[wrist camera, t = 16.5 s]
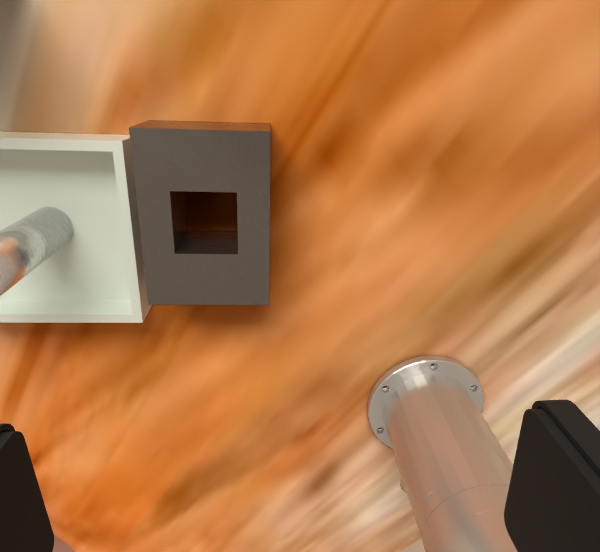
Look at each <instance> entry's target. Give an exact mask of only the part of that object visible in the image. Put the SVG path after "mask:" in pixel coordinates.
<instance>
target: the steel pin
mask: <svg viewBox="0 0 600 552" xmlns="http://www.w3.org/2000/svg"><path fill="white" fill-rule="evenodd" d="M73 232H74V229H73V224H72V222H71V220H70V218H69V217H68V216H67V215H66V214H65V213H64V212H63V211H61V210H59V209H57V208H54V207H43V208H40V209H38V210H36V211H34V212H32V213H31V214H29V215H27V216H25V217H23V218H22V219H20V220H18V221H16V222H14V223H12V224H11V225H9V226H7V227H5V228H3V229H2V230H0V296H1V295H2V294H4V293H5V292H6V291H7V290H9V289H10V288H11V287H12V286H14V285H15V284H16V283H18V282H19V281H20V280H21V279H23V278H24V277H25V276H26V275H28V274H29V273H30V272H31V271H33V270H34V269H35V268H36V267H38V266H39V265H40V264H42V263H43V262H44V261H45V260H47V259H48V258H49V257H50V256H52V255H53V254H54V253H55V252H57V251H58V250H59V249H60V248H62V247H63V246H64V245H65V244H67V243H68V242H69V241H70V240H71V238H72V236H73Z"/></svg>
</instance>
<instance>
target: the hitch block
mask: <svg viewBox="0 0 600 552" xmlns="http://www.w3.org/2000/svg"><path fill="white" fill-rule="evenodd" d="M129 133H130V142H131V151H132V161H133V170H134V179H135V189H136V198H137V207H138V217H139V226H140V235H141V245H142V254H143V263H144V273H145V282H146V291H147V301H148V305H269V288H270V142H271V124H266V123H230V122H193V121H157V120H149V121H146V122H143V123H140V124H138V125H135V126H132V127H129ZM185 191H187V192H237V224H238V231H187V219H186V203H185Z"/></svg>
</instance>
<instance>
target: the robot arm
mask: <svg viewBox="0 0 600 552" xmlns="http://www.w3.org/2000/svg"><path fill="white" fill-rule="evenodd" d="M483 402H484V398H483V391H482V388H481V385H480V383H479V381H478V380H477V378H476V377H475V375H474V374H473V373H472V372H471V371H470V370H469V368H468V367H466V366H465V365H463V364H462V363H460V362H458V361H456V360H453V359H451V358H447V357H442V356H423V357H416V358H413V359H410V360H406V361H404V362H402V363H400V364H398V365H396V366H394V367H393V368H392V369H390V370H389V371H387V372H386V373H385V374H384V375H383V376H382V377H381V378H380V379H379V380H378V381H377V383H376V384H375V386H374V387H373V389H372V391H371V393H370V395H369V399H368V404H367V415H368V419H369V423H370V426H371V428H372V431H373V432H374V434H375V435H376V437H377V438H378V439H379V440H380V441H381V442H382V443H383V444H385V445H386V446H388V447H390V448H391V449H393V451H394V454H395V457H396V460H397V463H398V466H399V469H400V472H401V475H402V476H401V483H400V486H401V489H402V490H403V491H405V492H407V494H408V497H409V500H410V503H411V506H412V510H413V513H414V516H415V519H416V522H417V525H418V528H419V531H420V534H421V537H422V540H423V544H424V547H425V550H426V552H600V431H599V430H598V429H597V428H596V427H595V425H594V424H593V423H592V422H591V421H590V420H589V419H588V418H587V417H586V416H585V415H584V414H583V413H582V411H581V410H580V409H579V408H578V407H577V406H576V405H575V404H574V403H573V402H571V401H569V400H546V401H536V402H535V403H534V404H533V406H532V409H528V410H526V411H525V413H524V416H523V421H522V426H521V430H520V435H519V440H518V445H517V450H516V455H515V460H514V465H513V464H512V463H511V461H510V460H509V458H508V456H507V455H506V453H505V452H504V450H503V448H502V447H501V445H500V443H499V442H498V440H497V439H496V437H495V435H494V434H493V432H492V431H491V429H490V427H489V426H488V424H487V422H486V421H485V419H484V418H483V416H482V414H481V412H482V409H483ZM53 545H54V535H53V531H52V528H51V524H50V521H49V518H48V515H47V511H46V508H45V505H44V501H43V498H42V495H41V491H40V488H39V485H38V482H37V478H36V475H35V472H34V468H33V465H32V462H31V458H30V455H29V452H28V449H27V445H26V442H25V439H24V436H23V434H22V433H21V432H19V431H15V429H14V427H13V426H12V425H11V424H0V552H52V551H53Z"/></svg>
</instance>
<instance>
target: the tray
mask: <svg viewBox="0 0 600 552" xmlns="http://www.w3.org/2000/svg"><path fill="white" fill-rule="evenodd" d="M43 207H54V208H57V209H59V210H61V211H63V212H64V213H65V214H66V215H67V216H68V217H69V218H70V220H71V222H72V224H73V229H74V232H73V236H72V238H71V240H70V241H69V242H68V243H67V244H65V245H64V246H63V247H62V248H60V249H59V250H58V251H57V252H55V253H54V254H53V255H52V256H50V257H49V258H48V259H47V260H45V261H44V262H43V263H42V264H40V265H39V266H38V267H36V268H35V269H34V270H33V271H31V272H30V273H29V274H28V275H26V276H25V277H24V278H23V279H21V280H20V281H19V282H18V283H16V284H15V285H14V286H12V287H11V288H10V289H9V290H7V291H6V292H5V293H4V294H2V295H1V296H0V323H143V321H144V319H145V317H146V315H147V314H148V312H149V310H150V308H151V306H152V305H148V301H147V291H146V282H145V273H144V263H143V254H142V245H141V235H140V226H139V217H138V207H137V198H136V189H135V179H134V170H133V161H132V151H131V142H130V135H117V134H78V133H39V132H0V230H2V229H3V228H5V227H7V226H9V225H11V224H12V223H14V222H16V221H18V220H20V219H22V218H23V217H25V216H27V215H29V214H31V213H32V212H34V211H36V210H38V209H40V208H43Z"/></svg>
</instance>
